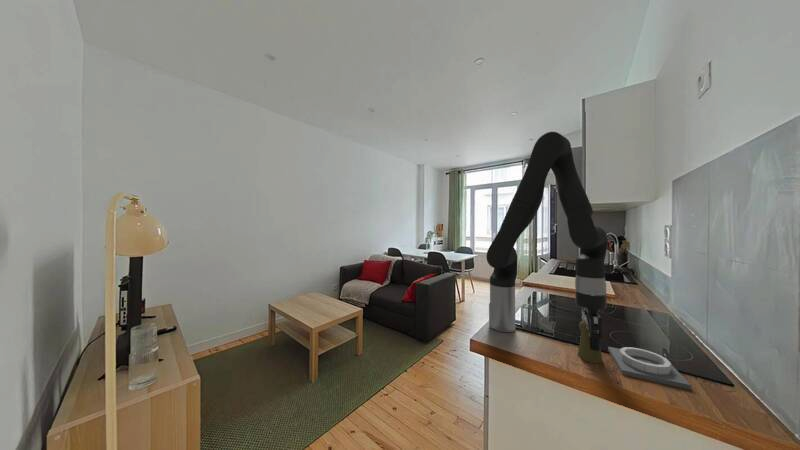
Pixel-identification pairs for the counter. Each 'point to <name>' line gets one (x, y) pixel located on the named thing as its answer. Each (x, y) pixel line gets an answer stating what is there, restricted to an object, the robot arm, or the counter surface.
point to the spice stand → (647, 366)
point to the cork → (588, 346)
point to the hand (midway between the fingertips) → (591, 343)
